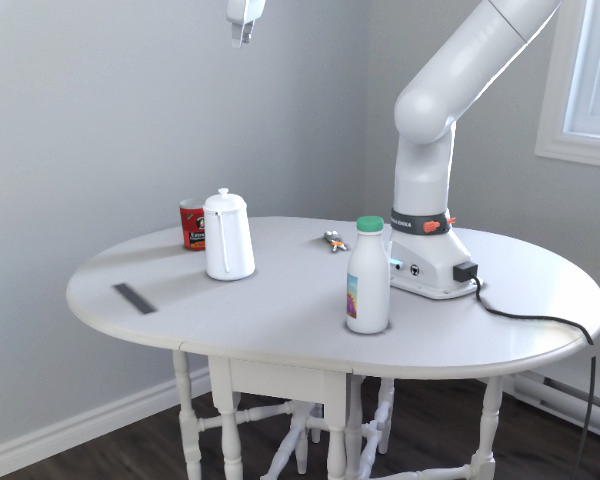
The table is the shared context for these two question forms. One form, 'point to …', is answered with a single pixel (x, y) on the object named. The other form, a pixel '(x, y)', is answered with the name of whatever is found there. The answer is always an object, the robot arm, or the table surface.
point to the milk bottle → (368, 279)
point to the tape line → (134, 298)
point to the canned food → (193, 223)
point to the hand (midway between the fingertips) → (240, 45)
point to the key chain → (334, 239)
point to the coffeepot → (227, 237)
